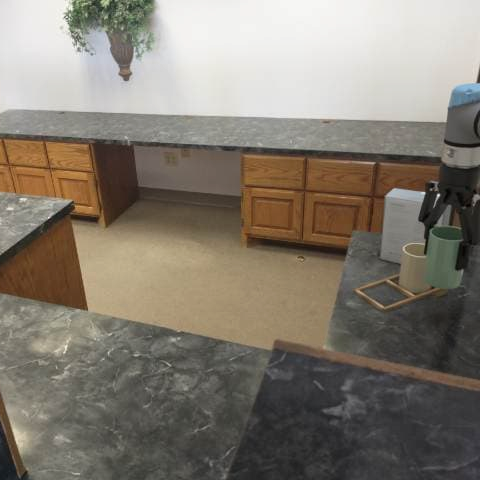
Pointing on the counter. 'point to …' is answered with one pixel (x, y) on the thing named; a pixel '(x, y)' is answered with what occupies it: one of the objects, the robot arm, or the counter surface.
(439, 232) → the green cup
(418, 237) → the hard drive box
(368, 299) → the cup holder
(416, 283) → the cream cup
